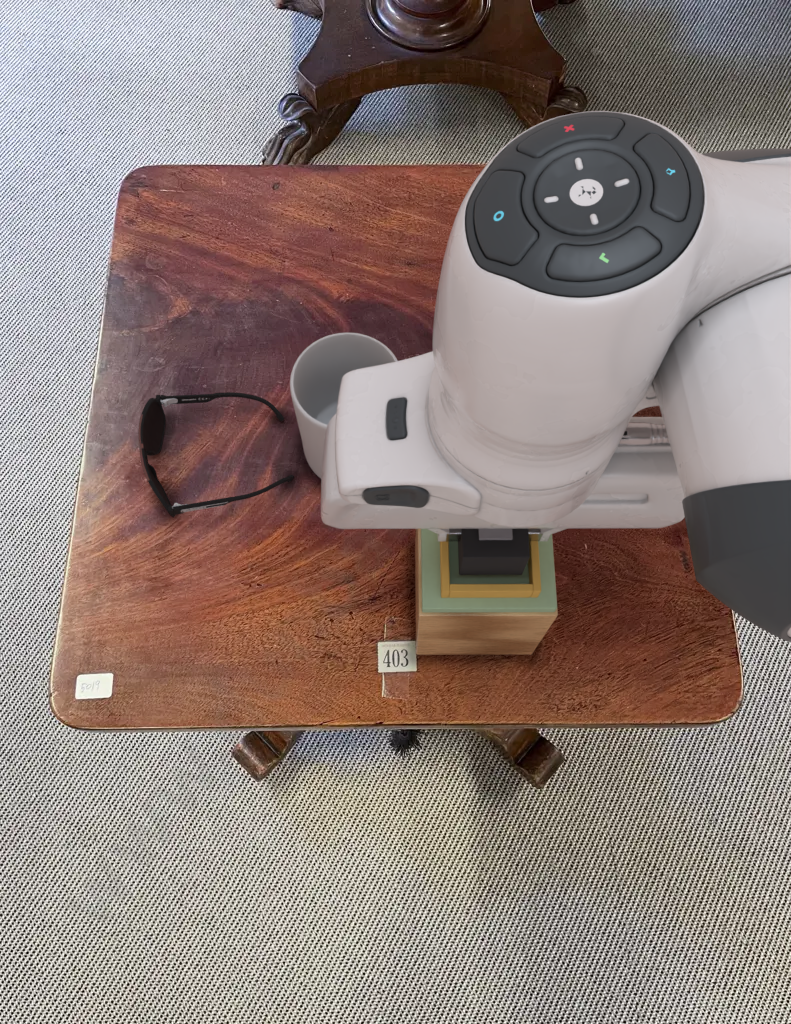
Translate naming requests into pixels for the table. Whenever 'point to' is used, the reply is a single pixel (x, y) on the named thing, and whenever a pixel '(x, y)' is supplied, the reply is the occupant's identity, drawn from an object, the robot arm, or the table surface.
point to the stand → (475, 627)
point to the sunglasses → (153, 439)
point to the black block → (493, 551)
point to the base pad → (485, 581)
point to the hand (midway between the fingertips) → (490, 530)
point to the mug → (328, 384)
